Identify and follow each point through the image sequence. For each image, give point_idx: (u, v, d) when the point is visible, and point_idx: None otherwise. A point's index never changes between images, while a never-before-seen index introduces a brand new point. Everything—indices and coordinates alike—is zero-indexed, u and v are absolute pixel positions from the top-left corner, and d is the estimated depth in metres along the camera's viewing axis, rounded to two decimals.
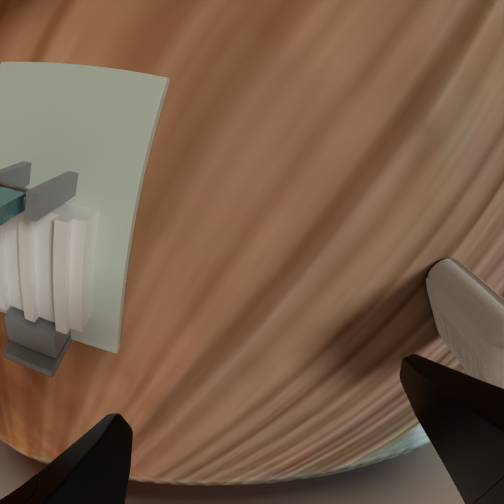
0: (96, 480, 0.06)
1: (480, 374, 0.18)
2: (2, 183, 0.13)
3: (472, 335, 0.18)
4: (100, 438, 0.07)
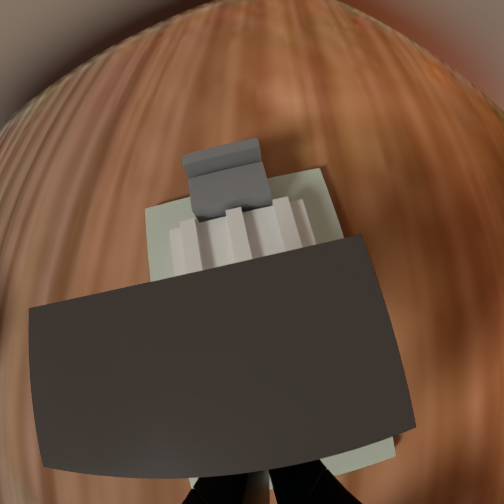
0: (258, 477, 0.06)
1: None
2: None
3: None
4: None
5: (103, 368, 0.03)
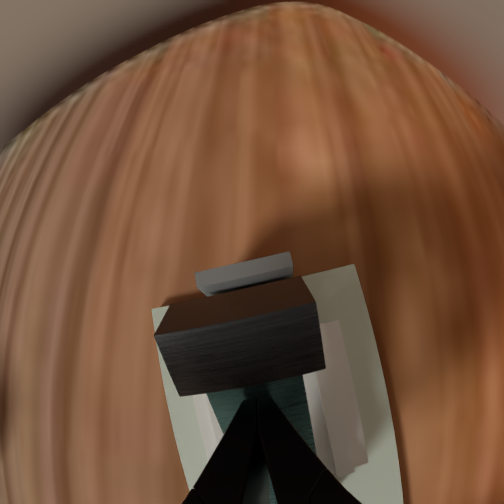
0: (258, 477, 0.06)
1: None
2: None
3: None
4: (255, 427, 0.07)
5: (203, 307, 0.08)
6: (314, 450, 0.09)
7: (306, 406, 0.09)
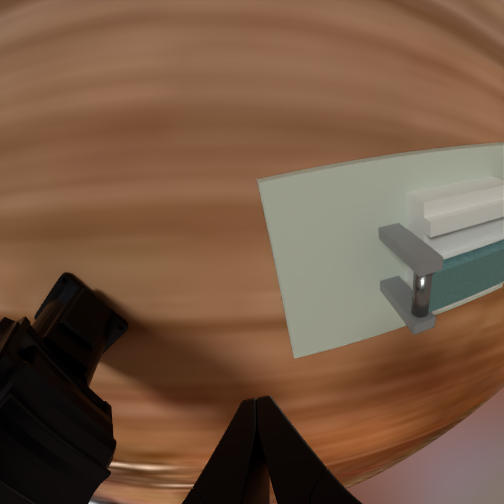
0: (258, 477, 0.06)
1: None
2: (425, 307, 0.16)
3: None
4: (255, 427, 0.07)
5: None
6: (499, 282, 0.16)
7: None
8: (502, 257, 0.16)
